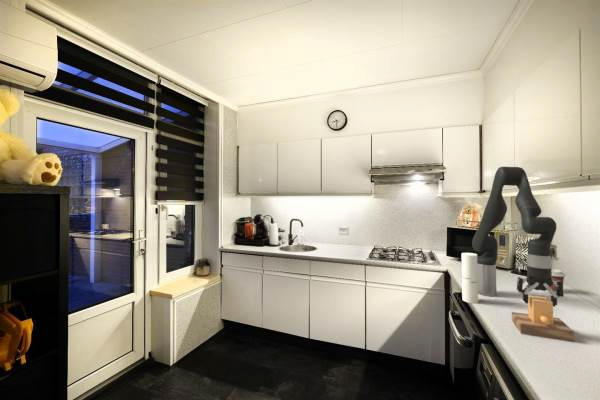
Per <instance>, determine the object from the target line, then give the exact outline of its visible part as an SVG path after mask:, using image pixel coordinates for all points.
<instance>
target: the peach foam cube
mask: <svg viewBox="0 0 600 400" xmlns="http://www.w3.org/2000/svg"><path fill="white" fill-rule="evenodd" d="M527 307H528V313H527V314H529V318H530V319H531V320H532V321H533V322H534V323H539V324H546V325H553V317H554V306H553V302H551V299H549V298H548V297H545V296H537V295H529V294H528V306H527Z"/></svg>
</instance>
